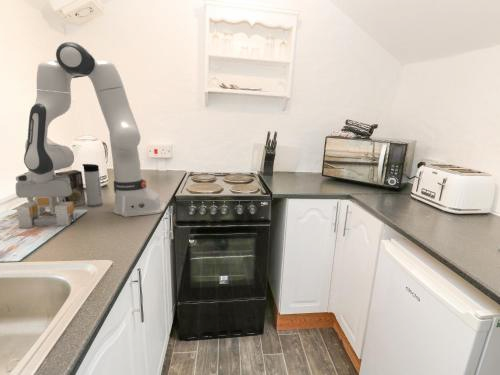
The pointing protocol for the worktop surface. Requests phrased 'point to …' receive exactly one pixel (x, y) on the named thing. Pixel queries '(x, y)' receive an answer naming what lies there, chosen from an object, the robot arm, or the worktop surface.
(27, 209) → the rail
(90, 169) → the travel mug
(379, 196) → the worktop surface
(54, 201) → the notched cream cube
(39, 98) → the robot arm
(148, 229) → the worktop surface
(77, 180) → the coffee box
